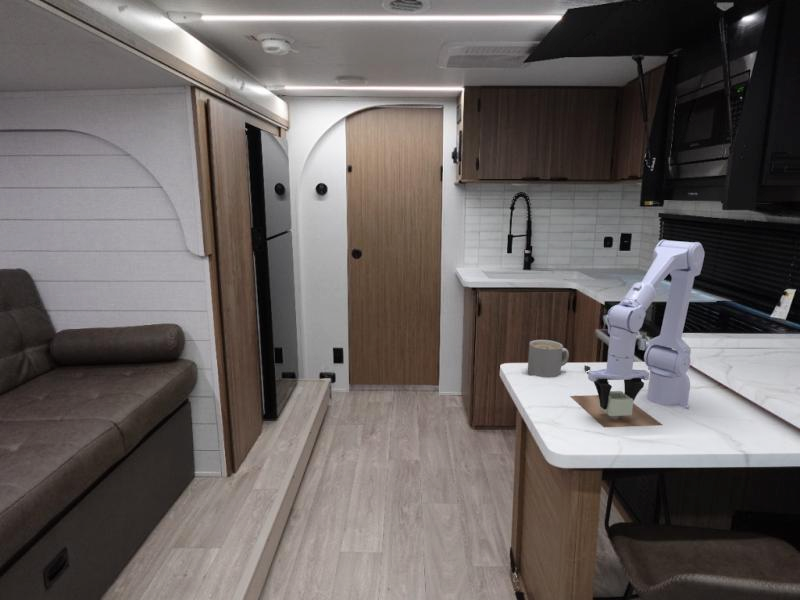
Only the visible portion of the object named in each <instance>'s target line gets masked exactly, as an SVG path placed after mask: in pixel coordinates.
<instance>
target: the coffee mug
mask: <svg viewBox="0 0 800 600" xmlns="http://www.w3.org/2000/svg"><path fill="white" fill-rule="evenodd" d="M569 355H570V354H569V350H568V348H565V347H564V346H563V344H562V343H560V342H558V341H554V340H549V339H536V340H535V339H534V340H531V341H529V344H528V358H527V359H528V361H527V372H526V373H527V375H528V376H530V377H531V376H533V377H535V376H536V377H540V378H548V379H549V378H557V377H559V376H561V373H562V372H561V371H562V367H563V366H565V365H566V364H567V363H568V361H569V358H570V357H569Z"/></svg>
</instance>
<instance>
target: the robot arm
mask: <svg viewBox="0 0 800 600" xmlns="http://www.w3.org/2000/svg"><path fill="white" fill-rule="evenodd" d="M703 247H704V246H703V245H702V243H700V242H699V241H695V242H693V241H691V242H689V241H679V240H678V241H677V240H667V239H661V240H659V242H658V243H657V244H656V246H655V248H654V249H653V262H652V263H651V265H650V266H649V268H648V270H647V271H646V273H645V275H644V277H643V278H642V280H641V281H640V282H638V281H637V282H635V283H633V285H632V286H631V287H630V289H629V290H628V292H627V293H626V294H625V296H624V297H623V298H622V299H621V301H620V302H619V303H618V304H616V305H613V306H612V307H610V309H608V311H607V316H606V317H605V322H606V326H607V332H608V335H609V340H608V342H609V343H608V350H607V361H606V362H607V363H606V368H604V369H597V370H590V371H589V374H587V375H588V376H587V379H588V380H589V381H590V382H593V384H594V386H595V388H596V389H595V390H596V391H597V394H598V396H599V401H600V407H602V408H603V409H607V406H608V397H609V393H610V391H612V389H613V387H612V385H611V384H610V382H609V381H620V380H621V381H623V383H624V384H623V385H624V393H625V394H626V395H628V396H629V397H630V398H632V399H633V402H634V401H635V399H636V397H637V395H638V394H639V392H640V391H641V390H642V389H643V388H644V387H645V382H643V381H648V387H647V395H646V398H647V401H648V402H649V401H650V402H651V403H654V404H656V405H659V406H660V405H661V406H667V407H668V406H670V407H671V406H676V405H679V406H681V407H683V408H684V409H690V406H689V398H690V397H689V396H690V390H691V379H690V377H689V376H688V374H687V372H688V371H689V369H690V368H691V353H692V352H691V351H692V348H691V347H690V346H689V344H687V343H686V341H684V339H683V338H682V336H683V331H684V327H685V323H686V319H687V314H688V309H689V304H690V300H691V294H692V289H693V286H694V281H695V277H697V276H699V275H701V271H702V268H703V264H704V258H705V250H704V248H703ZM668 275H670V277H671V280H670V286H669V291H668V295H667V300H666V306H665V309H664V314H663V319H662V325H661V329H660V333H659V335H658V336H656V337H653V338H651V339H650V340H649V342H648V346H647V348H646V350H645V352H644V355H643V360H644V364H645V366H647V370H648V371H647V370H646V369H634V368H633V367H634V359H635V358H634V357H635V348H636V341H637V332H638V331H640V329H642V327H643V324H644V320H645V317H646V315H647V313H646V311H647V309H649V307H650V305H651V304H652V303H653V302H654V301H655V299H656V298H657V292H656V289H657V288H658V287H659V286H660V284H661V283H662V282H663V281H664V279H666V277H667V276H668ZM642 380H643V381H642Z"/></svg>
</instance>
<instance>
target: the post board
mask: <svg viewBox="0 0 800 600" xmlns="http://www.w3.org/2000/svg"><path fill="white" fill-rule="evenodd" d="M569 397H570V398H571V399H572V400H573V401H574V402H576V403H577V405H579V406H580V407H581V408H582V409H583V410H584V411H585V412H587V414H588V415H590V417H592V418H593V419H594V420H595V421H597V423H598V424H600V426H602V427H603V428H620V427H622V428H623V427H626V428H627V427H645V426H647V427H648V426H651V427H652V426H653V427H654V426H663V424H662V423H661V422H660V421H659V420H657V419H656V418H655V417H653V416H652V415H650V414H649V413H648V412H646V411H645V410H643V409H642V408H641V407H639V406H638V405H637V404H635V403H634V402H633V408H632V415H623V416H609V415H608V413H606V412H604V411H603V410H602V409H601V408H600V407H599V396H598V395H597V394H593V395H570V396H569Z"/></svg>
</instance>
